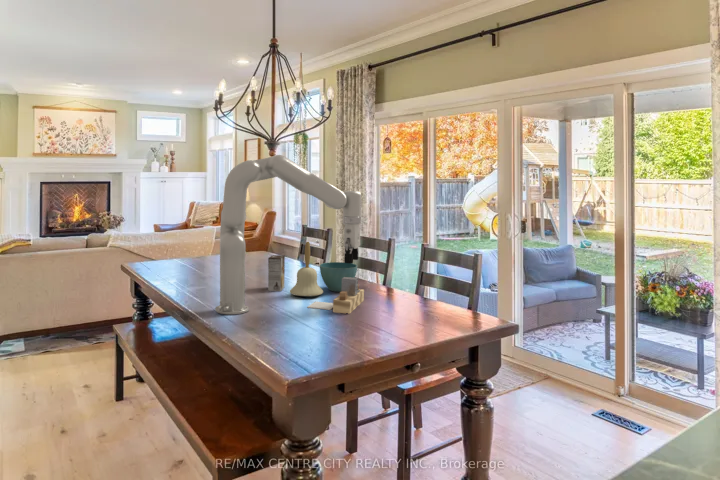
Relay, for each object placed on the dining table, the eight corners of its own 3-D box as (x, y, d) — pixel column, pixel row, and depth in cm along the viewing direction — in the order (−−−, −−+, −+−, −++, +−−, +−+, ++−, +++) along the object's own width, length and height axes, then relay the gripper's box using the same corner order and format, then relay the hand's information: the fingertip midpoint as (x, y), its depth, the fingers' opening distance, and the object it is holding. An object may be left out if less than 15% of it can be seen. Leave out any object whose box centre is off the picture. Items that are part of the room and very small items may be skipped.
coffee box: (271, 287, 239) (272, 254, 237) (284, 287, 239) (285, 255, 237) (267, 291, 230) (268, 257, 228) (281, 291, 230) (281, 258, 228)
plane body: (349, 313, 194) (350, 294, 193) (332, 312, 196) (333, 292, 195) (363, 300, 217) (364, 282, 216) (348, 299, 219) (349, 281, 218)
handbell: (324, 292, 231) (325, 240, 229) (322, 299, 216) (324, 244, 213) (291, 291, 231) (292, 239, 228) (287, 298, 216) (288, 243, 213)
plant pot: (352, 295, 227) (352, 269, 226) (314, 292, 231) (315, 266, 229) (359, 287, 245) (360, 263, 243) (324, 284, 248) (325, 261, 247)
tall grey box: (355, 296, 203) (355, 279, 202) (341, 294, 205) (341, 278, 204) (357, 294, 207) (357, 277, 206) (343, 292, 209) (344, 276, 208)
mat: (330, 309, 199) (330, 309, 199) (307, 307, 201) (307, 306, 201) (337, 304, 209) (337, 303, 209) (315, 302, 211) (315, 301, 211)
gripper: (355, 222, 193) (354, 265, 195) (365, 219, 210) (364, 258, 212) (337, 222, 195) (336, 264, 197) (348, 219, 212) (348, 257, 214)
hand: (351, 261), depth 204 cm, fingers open, 9 cm apart
